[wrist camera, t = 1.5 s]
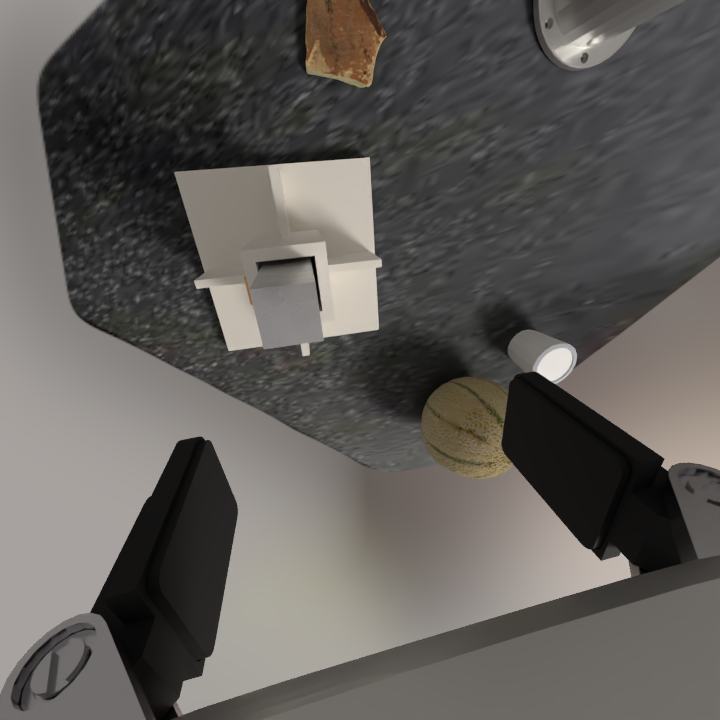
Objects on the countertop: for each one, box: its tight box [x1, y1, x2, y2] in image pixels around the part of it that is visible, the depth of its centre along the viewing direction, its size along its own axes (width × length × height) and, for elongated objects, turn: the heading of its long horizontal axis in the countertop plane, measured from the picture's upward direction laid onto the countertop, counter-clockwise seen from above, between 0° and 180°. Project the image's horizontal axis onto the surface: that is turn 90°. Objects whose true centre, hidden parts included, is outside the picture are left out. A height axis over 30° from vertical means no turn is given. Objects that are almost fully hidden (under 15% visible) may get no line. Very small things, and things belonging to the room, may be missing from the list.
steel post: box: [249, 256, 324, 349], centre depth 28 cm, size 4×4×18 cm
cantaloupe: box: [421, 377, 514, 479], centre depth 46 cm, size 15×15×15 cm
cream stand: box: [174, 157, 382, 356], centre depth 33 cm, size 20×20×14 cm
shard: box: [305, 0, 387, 88], centre depth 29 cm, size 11×8×2 cm
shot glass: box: [508, 329, 577, 384], centre depth 47 cm, size 7×7×7 cm
